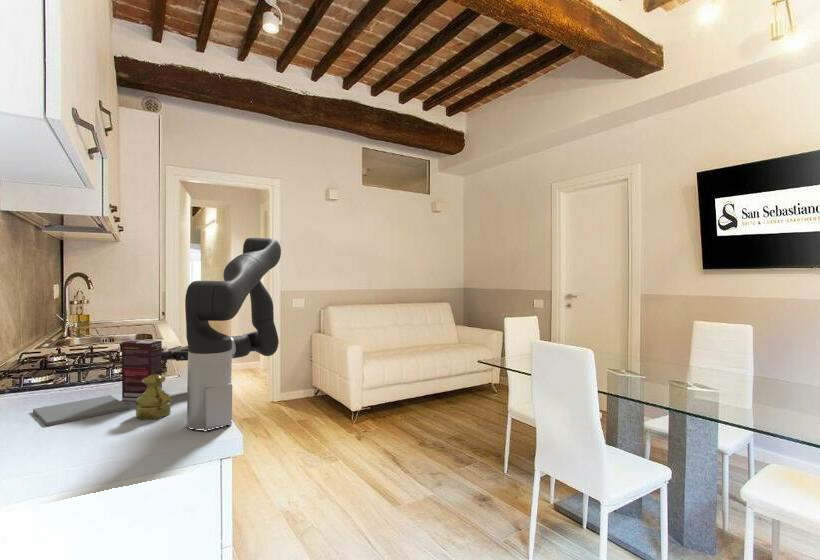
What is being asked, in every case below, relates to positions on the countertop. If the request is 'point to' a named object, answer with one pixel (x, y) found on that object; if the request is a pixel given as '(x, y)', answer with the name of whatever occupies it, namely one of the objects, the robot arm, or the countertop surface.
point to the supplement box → (139, 366)
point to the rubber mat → (79, 410)
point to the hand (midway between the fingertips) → (155, 357)
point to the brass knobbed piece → (153, 399)
